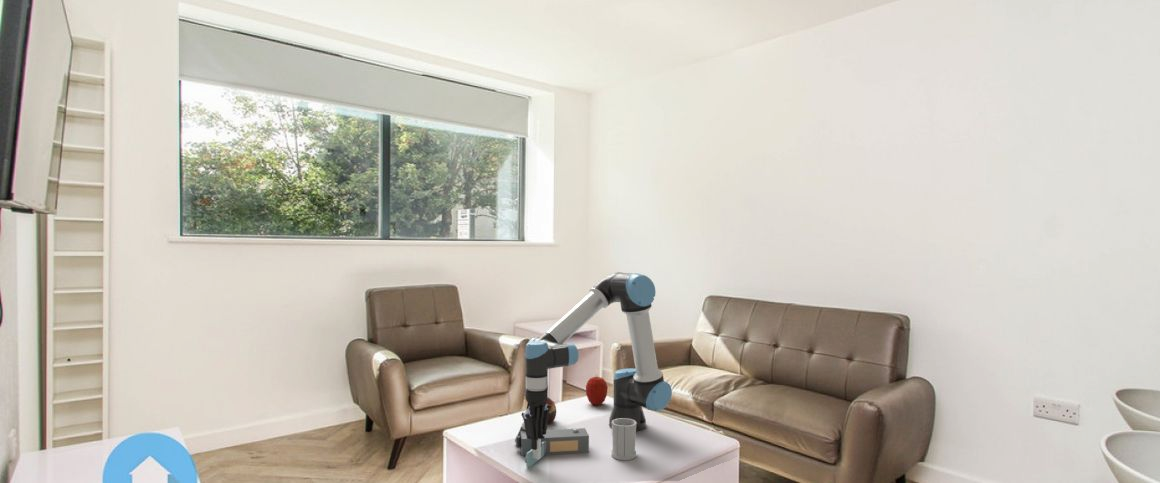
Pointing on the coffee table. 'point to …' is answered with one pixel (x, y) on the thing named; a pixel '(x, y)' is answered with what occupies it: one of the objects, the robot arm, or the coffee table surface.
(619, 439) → the cup
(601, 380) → the apple
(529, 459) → the side door
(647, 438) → the coffee table surface
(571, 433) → the long gray box
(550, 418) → the vase
